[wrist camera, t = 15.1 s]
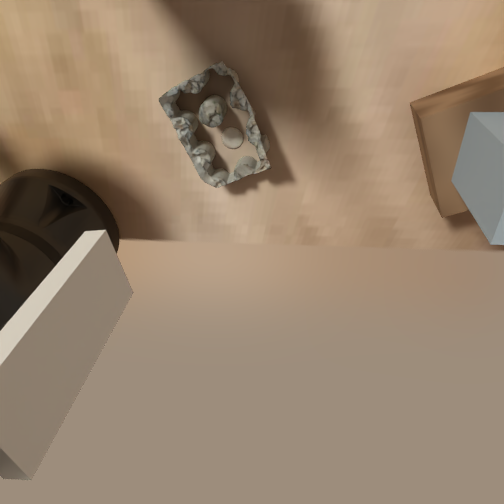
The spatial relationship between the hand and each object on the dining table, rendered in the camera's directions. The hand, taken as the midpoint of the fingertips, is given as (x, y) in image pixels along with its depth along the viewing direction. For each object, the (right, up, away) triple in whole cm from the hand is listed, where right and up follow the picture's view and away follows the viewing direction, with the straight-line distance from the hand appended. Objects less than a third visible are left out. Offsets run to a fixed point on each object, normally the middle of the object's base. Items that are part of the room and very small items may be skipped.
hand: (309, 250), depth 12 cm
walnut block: (+19, +11, +25) cm, 34 cm away
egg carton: (-5, +13, +28) cm, 31 cm away
